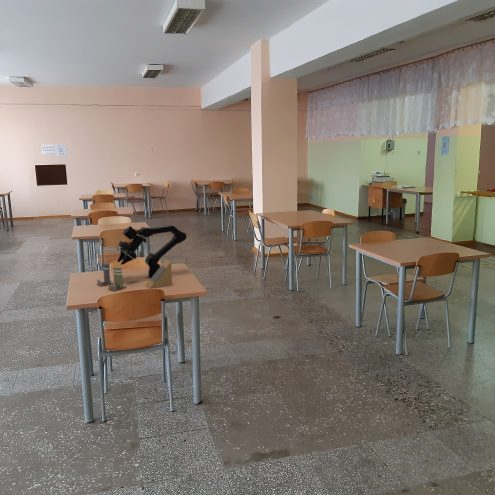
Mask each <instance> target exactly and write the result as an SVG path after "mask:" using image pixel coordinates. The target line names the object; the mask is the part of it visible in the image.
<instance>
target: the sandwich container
mask: <svg viewBox="0 0 495 495" xmlns="http://www.w3.org/2000/svg"><path fill="white" fill-rule="evenodd" d="M169 285H170V286H173V275H172V261H170V260H168V259H165V261H164V262H162V264H161V265H160V268H159V269H158V270H157V272H156V273H155V274H154V275H153V276H152V278H149V279H148V281H147V282H146V283H145V285H144V286H145V288H146V289H147V290H150V289H157V288H165V287H168V286H169ZM170 286H169V287H170Z"/></svg>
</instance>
